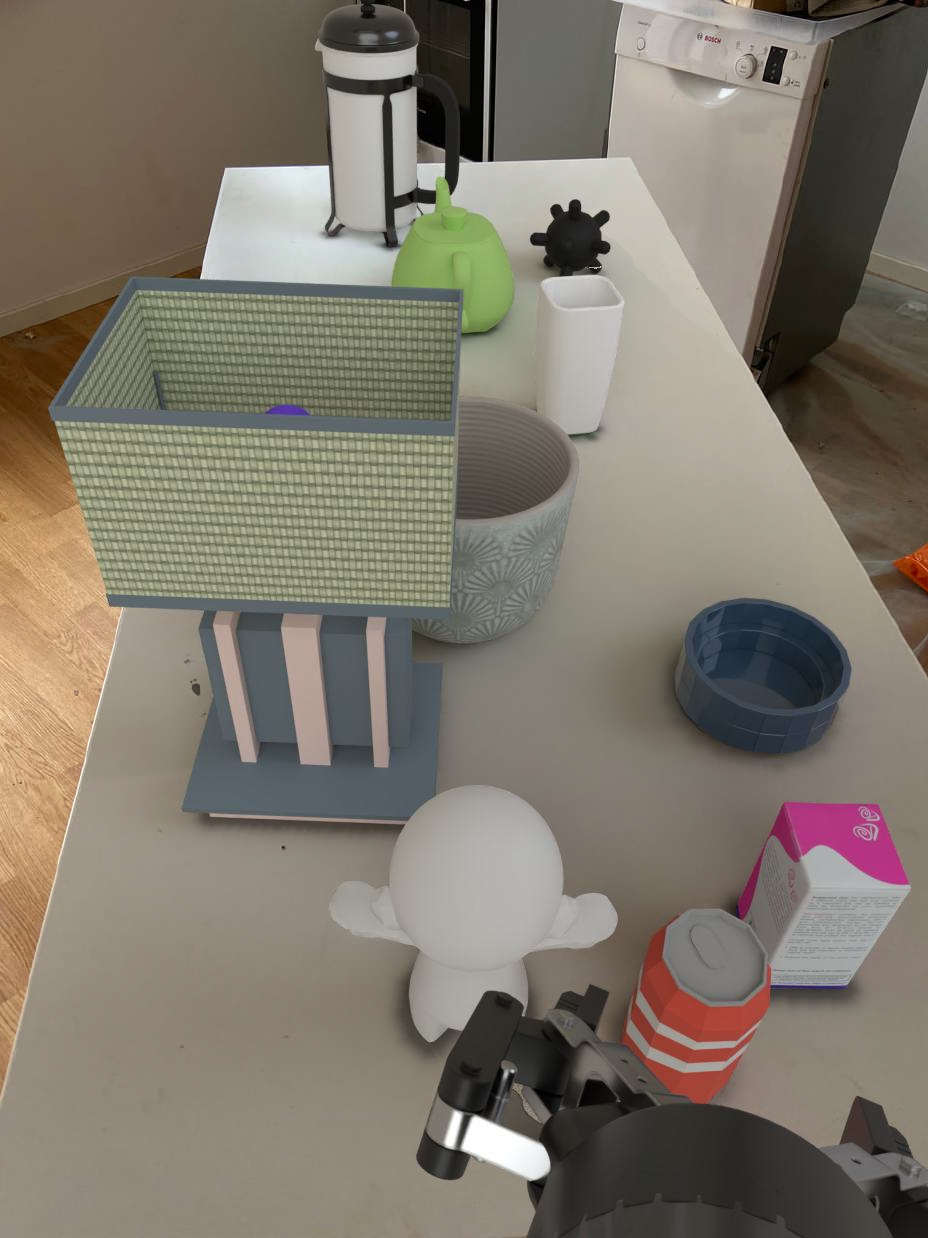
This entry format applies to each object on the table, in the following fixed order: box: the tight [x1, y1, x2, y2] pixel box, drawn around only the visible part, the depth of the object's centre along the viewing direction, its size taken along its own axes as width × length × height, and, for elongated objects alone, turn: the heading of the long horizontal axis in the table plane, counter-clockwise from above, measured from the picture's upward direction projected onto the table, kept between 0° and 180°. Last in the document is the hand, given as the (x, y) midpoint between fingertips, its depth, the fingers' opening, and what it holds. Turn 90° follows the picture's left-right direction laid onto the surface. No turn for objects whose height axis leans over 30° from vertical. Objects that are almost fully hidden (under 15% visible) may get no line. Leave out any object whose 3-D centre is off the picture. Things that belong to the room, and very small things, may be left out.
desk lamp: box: [47, 276, 464, 825], centre depth 60 cm, size 18×14×33 cm
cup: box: [534, 274, 626, 437], centre depth 99 cm, size 7×7×15 cm
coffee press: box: [314, 0, 461, 248], centre depth 130 cm, size 17×16×30 cm
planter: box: [412, 395, 580, 645], centre depth 78 cm, size 17×17×15 cm
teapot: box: [390, 176, 515, 334], centre depth 117 cm, size 22×15×13 cm
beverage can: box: [620, 908, 771, 1104], centre depth 52 cm, size 6×6×12 cm
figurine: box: [328, 784, 619, 1043], centre depth 50 cm, size 16×8×20 cm, turn 88°
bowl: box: [673, 597, 853, 755], centre depth 74 cm, size 12×12×5 cm
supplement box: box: [735, 801, 912, 990], centre depth 57 cm, size 6×6×12 cm
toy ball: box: [529, 198, 611, 277], centre depth 128 cm, size 11×11×12 cm
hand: (718, 1070), depth 31 cm, fingers open, 8 cm apart
